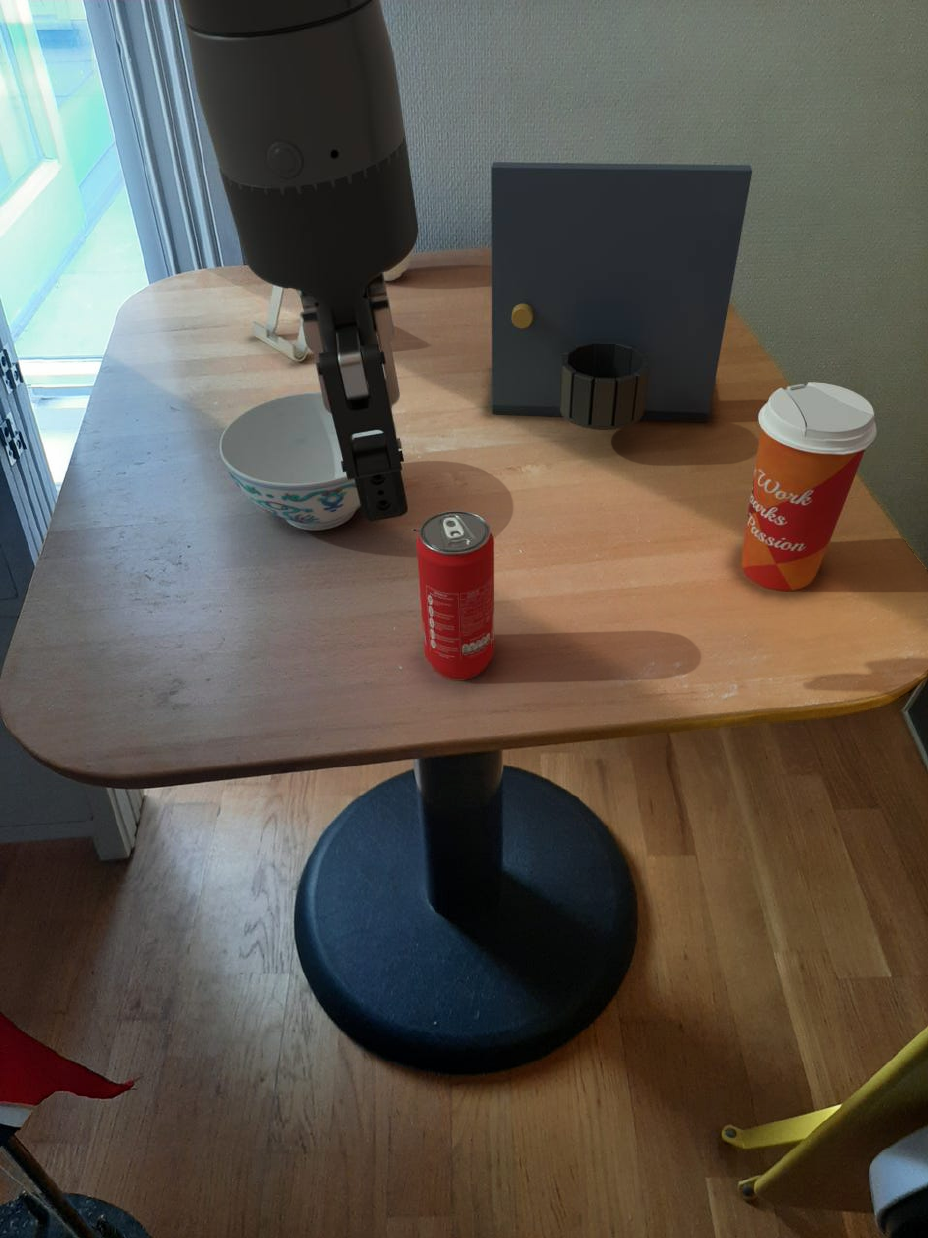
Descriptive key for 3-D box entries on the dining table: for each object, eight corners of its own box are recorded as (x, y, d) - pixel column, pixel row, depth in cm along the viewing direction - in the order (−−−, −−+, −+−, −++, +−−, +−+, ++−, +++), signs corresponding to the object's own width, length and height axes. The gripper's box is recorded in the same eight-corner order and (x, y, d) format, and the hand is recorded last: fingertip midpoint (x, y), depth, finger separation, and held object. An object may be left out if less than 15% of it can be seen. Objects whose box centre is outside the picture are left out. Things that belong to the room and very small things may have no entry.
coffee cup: (709, 548, 78) (740, 388, 68) (794, 529, 80) (837, 370, 70) (761, 611, 72) (804, 446, 62) (852, 589, 74) (908, 424, 64)
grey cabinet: (701, 377, 100) (740, 137, 84) (715, 472, 87) (765, 207, 71) (500, 370, 103) (500, 135, 86) (483, 461, 89) (480, 202, 73)
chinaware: (314, 583, 76) (301, 507, 71) (202, 516, 83) (183, 442, 78) (436, 501, 84) (432, 427, 79) (324, 446, 92) (314, 375, 86)
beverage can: (434, 690, 67) (426, 561, 59) (418, 643, 71) (408, 515, 62) (502, 675, 68) (503, 547, 60) (483, 629, 72) (481, 502, 63)
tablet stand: (254, 339, 110) (241, 269, 104) (309, 319, 113) (299, 251, 108) (294, 364, 105) (282, 292, 99) (350, 342, 108) (342, 272, 103)
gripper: (425, 197, 32) (470, 539, 44) (386, 61, 41) (431, 373, 53) (209, 233, 31) (314, 568, 43) (219, 89, 41) (303, 396, 53)
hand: (378, 460), depth 48 cm, fingers open, 8 cm apart
